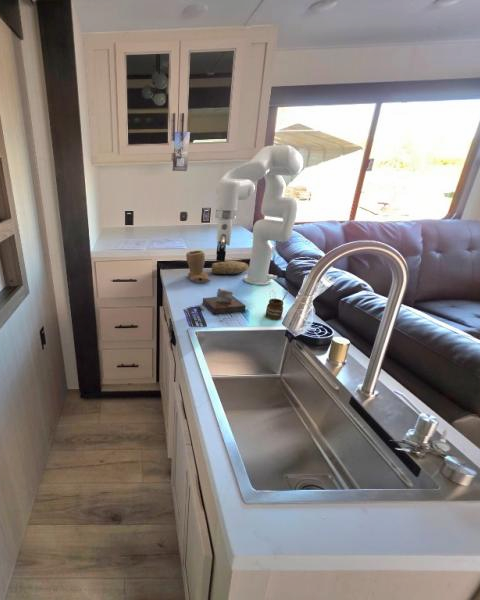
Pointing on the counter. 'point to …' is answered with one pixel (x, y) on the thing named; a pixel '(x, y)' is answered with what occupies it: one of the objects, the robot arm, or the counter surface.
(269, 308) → the utensil holder
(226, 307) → the brown flat wooden block
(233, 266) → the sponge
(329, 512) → the counter surface
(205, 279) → the tan fabric boot shape
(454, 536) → the counter surface
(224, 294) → the nozzle knob
